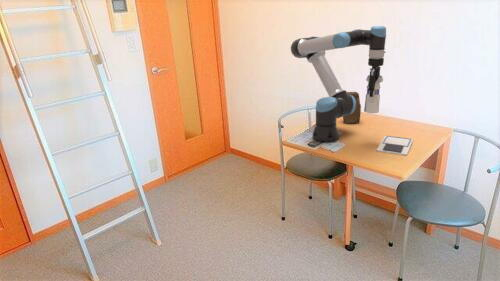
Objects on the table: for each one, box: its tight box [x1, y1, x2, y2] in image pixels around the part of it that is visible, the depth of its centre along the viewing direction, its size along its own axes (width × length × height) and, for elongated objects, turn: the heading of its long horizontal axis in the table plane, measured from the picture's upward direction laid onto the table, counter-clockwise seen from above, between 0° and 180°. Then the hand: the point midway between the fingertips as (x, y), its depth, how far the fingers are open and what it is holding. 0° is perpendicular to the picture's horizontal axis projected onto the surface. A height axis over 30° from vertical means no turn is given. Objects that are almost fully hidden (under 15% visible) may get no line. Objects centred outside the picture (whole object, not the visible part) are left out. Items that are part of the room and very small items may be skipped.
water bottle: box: [363, 67, 384, 114], centre depth 191 cm, size 8×9×25 cm
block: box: [342, 91, 362, 125], centre depth 232 cm, size 11×8×20 cm
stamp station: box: [376, 135, 414, 157], centre depth 196 cm, size 15×22×1 cm
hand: (372, 100), depth 194 cm, fingers closed on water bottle, 7 cm apart
